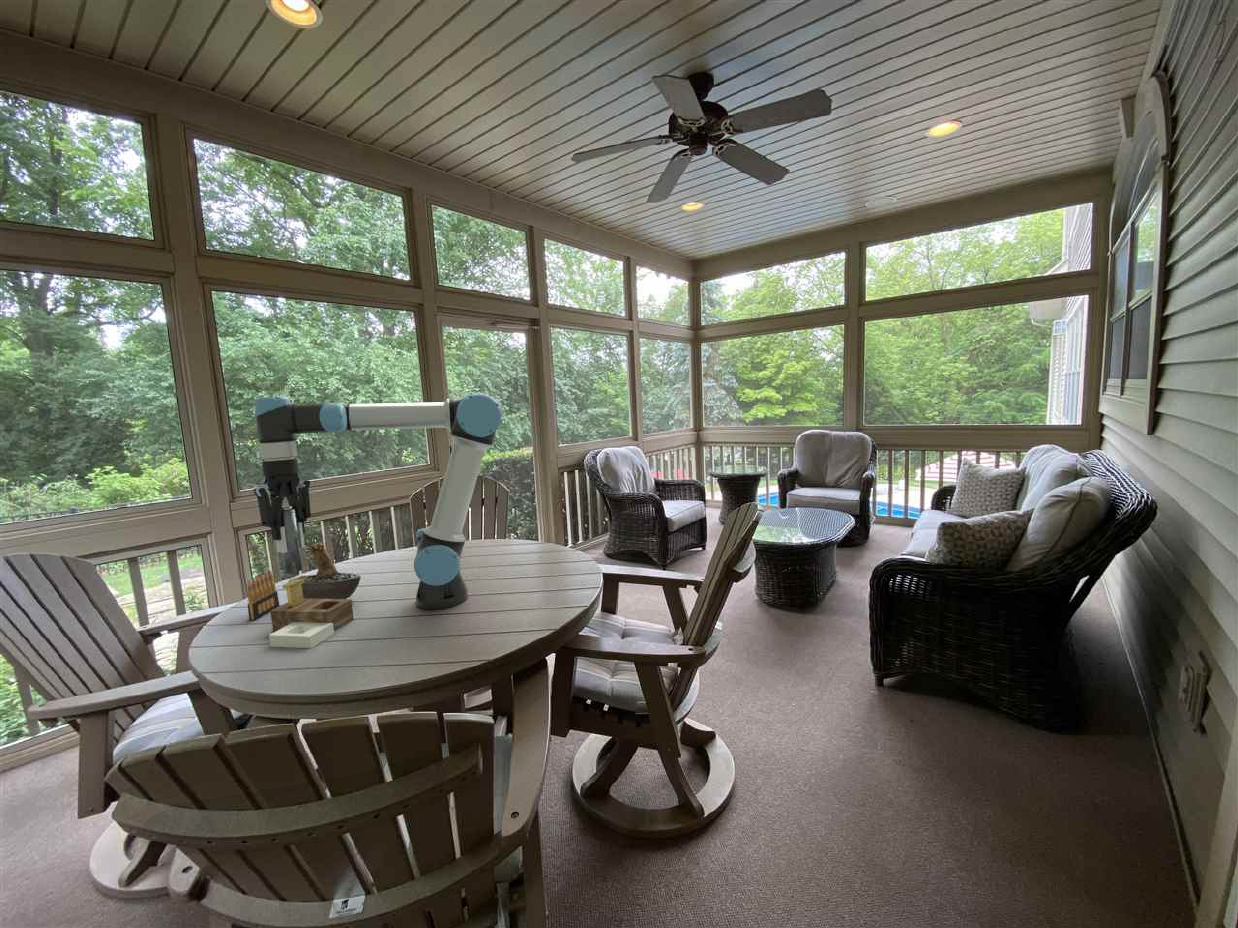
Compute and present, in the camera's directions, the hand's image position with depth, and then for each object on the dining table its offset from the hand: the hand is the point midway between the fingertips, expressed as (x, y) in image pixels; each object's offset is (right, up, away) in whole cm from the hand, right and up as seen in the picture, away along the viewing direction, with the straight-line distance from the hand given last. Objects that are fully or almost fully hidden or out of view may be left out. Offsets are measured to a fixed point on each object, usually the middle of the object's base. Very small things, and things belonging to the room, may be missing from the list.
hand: (291, 549), depth 130 cm
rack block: (+1, -24, +3) cm, 25 cm away
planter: (-6, -22, +28) cm, 36 cm away
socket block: (-1, -23, +12) cm, 26 cm away
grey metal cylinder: (0, -6, +1) cm, 6 cm away
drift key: (-6, -21, +12) cm, 25 cm away
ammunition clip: (-23, -23, +23) cm, 40 cm away
